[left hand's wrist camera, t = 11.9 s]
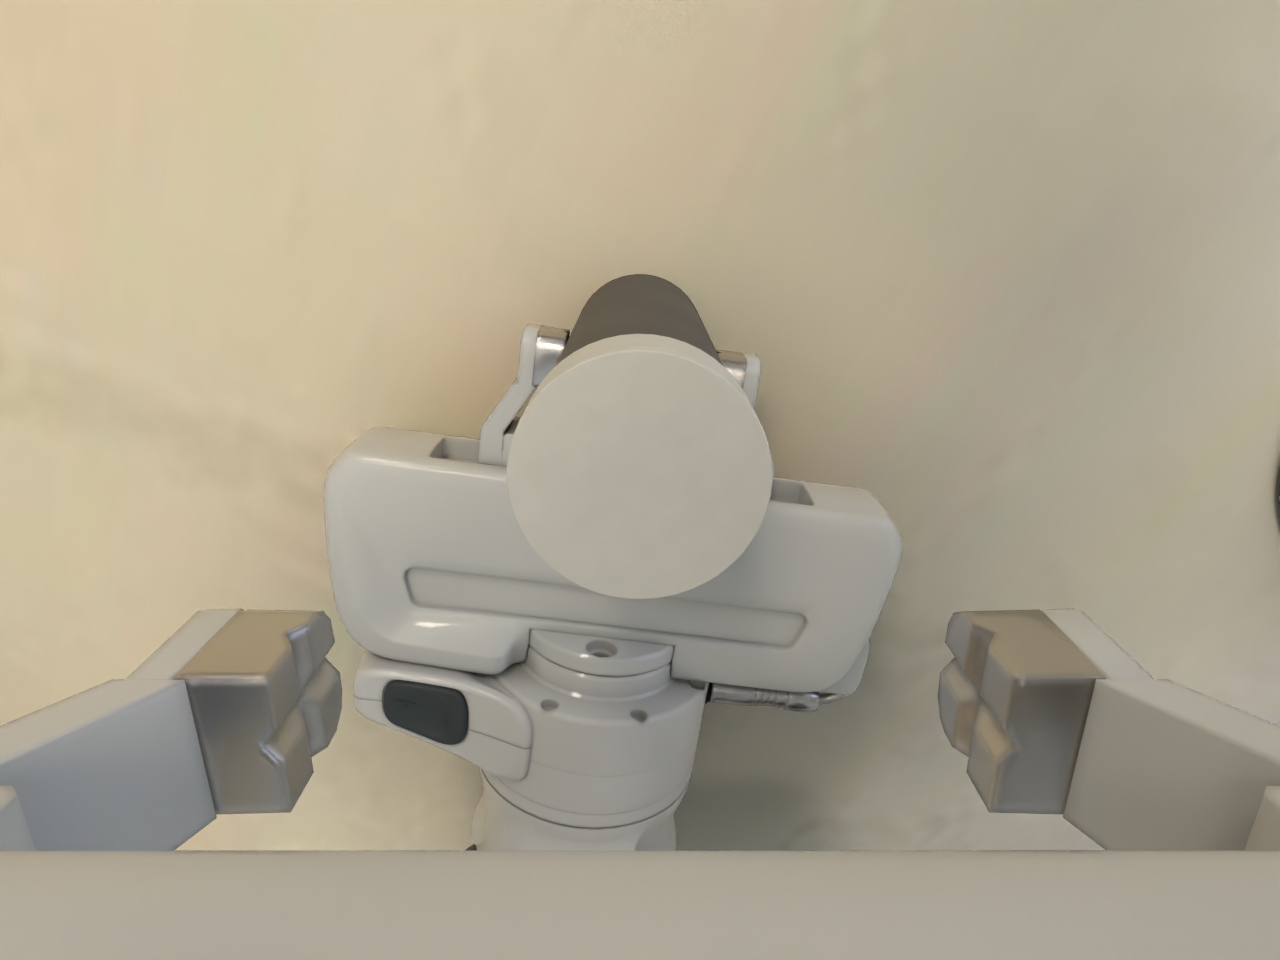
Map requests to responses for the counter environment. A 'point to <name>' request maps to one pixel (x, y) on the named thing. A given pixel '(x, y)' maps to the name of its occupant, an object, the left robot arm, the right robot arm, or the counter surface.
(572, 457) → the lid
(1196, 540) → the counter surface
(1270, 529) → the counter surface
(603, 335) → the dark gray cylinder
